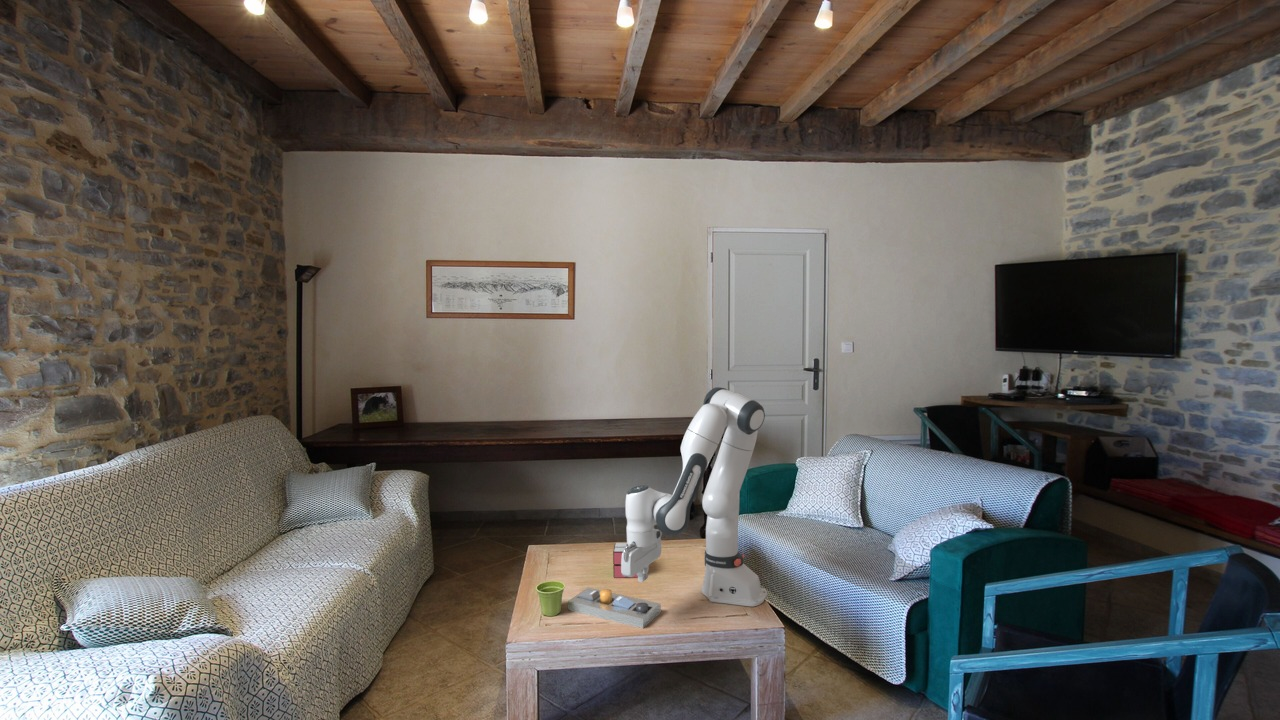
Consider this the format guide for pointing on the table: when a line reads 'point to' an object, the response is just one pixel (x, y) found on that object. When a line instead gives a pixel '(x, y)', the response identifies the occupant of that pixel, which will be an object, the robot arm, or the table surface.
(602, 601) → the button orange
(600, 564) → the table surface
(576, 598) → the panel
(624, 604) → the rocker blue
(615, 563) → the puzzle cube
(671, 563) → the table surface
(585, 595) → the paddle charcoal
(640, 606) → the button black
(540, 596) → the plant pot
